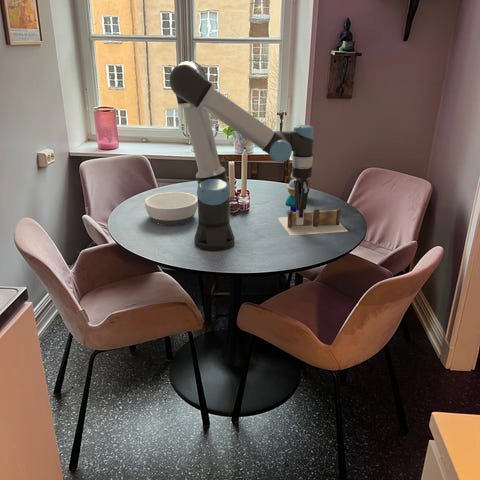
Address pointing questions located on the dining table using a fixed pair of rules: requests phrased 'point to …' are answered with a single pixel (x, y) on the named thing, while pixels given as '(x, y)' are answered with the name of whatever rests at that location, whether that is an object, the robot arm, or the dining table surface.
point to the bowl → (171, 207)
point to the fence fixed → (326, 217)
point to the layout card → (310, 228)
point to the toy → (291, 196)
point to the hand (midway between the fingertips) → (299, 224)
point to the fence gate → (306, 221)
